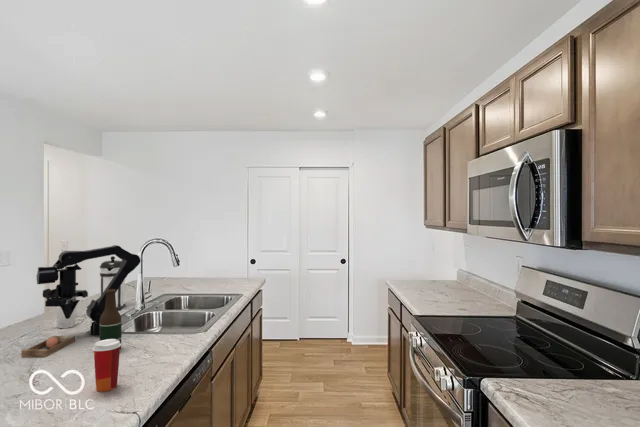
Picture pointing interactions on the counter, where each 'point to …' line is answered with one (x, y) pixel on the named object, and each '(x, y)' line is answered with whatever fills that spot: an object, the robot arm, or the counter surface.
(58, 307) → the white cup
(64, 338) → the tan wooden brick
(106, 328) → the beer bottle
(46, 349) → the brown wooden tray
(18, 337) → the counter surface
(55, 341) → the ball
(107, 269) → the coffee press
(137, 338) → the counter surface
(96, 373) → the paper cup
